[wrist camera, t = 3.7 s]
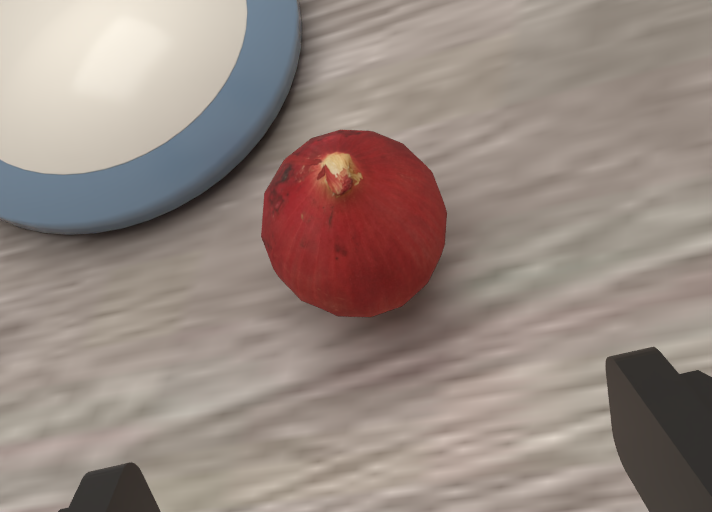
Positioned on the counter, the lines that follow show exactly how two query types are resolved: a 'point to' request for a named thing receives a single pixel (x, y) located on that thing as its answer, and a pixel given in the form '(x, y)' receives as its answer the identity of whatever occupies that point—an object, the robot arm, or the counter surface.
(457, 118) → the counter surface
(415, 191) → the onion
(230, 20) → the dish
